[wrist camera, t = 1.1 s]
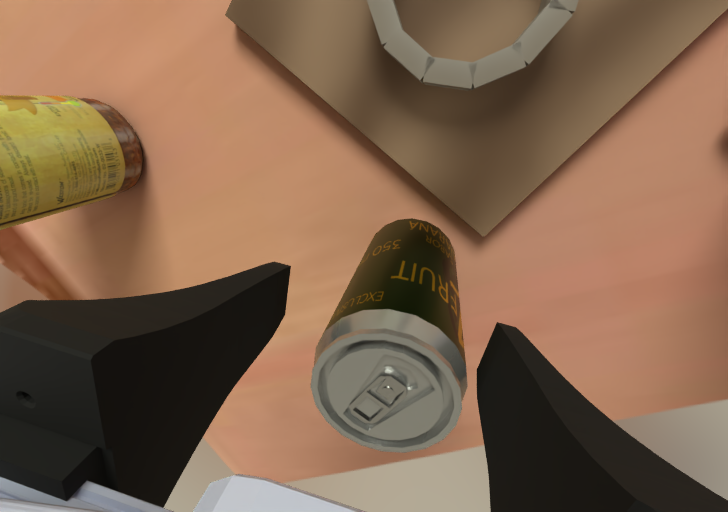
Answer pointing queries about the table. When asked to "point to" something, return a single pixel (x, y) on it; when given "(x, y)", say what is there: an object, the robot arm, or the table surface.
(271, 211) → the table surface
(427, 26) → the collar board
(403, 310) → the beer can
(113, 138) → the sauce bottle
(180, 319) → the robot arm
